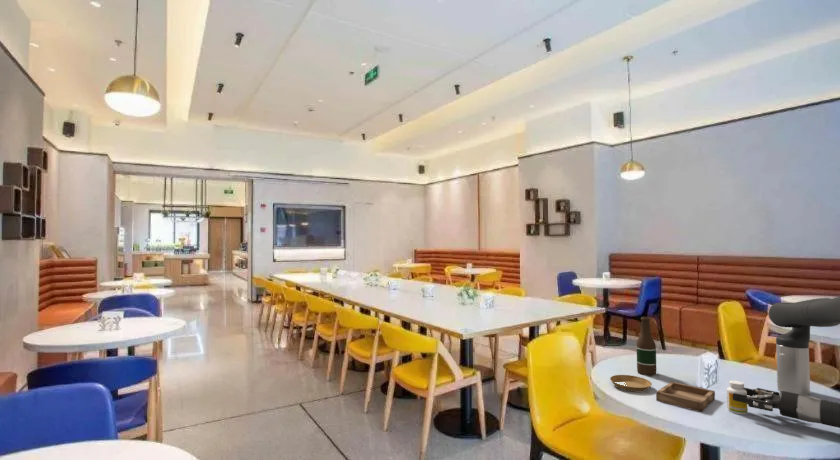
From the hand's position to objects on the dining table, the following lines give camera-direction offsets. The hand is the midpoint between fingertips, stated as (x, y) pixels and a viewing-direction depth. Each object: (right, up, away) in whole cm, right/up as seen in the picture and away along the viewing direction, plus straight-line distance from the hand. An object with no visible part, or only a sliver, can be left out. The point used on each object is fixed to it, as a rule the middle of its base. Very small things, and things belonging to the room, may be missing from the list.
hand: (736, 393), depth 142 cm
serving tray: (-11, -6, +10) cm, 16 cm away
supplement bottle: (0, -6, 0) cm, 6 cm away
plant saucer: (-23, -7, +24) cm, 34 cm away
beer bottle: (-8, -7, +40) cm, 42 cm away
